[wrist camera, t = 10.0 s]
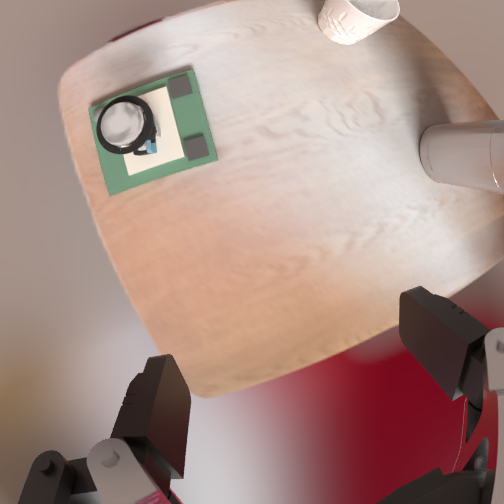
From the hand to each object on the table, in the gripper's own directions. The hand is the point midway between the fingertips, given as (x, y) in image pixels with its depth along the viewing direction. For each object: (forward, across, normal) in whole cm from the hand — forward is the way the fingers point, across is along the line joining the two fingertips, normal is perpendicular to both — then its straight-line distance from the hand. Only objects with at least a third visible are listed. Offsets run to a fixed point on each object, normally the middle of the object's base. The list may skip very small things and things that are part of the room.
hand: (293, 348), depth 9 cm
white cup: (+28, -19, -24) cm, 41 cm away
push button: (+26, +8, -13) cm, 30 cm away
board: (+27, +9, -13) cm, 31 cm away
